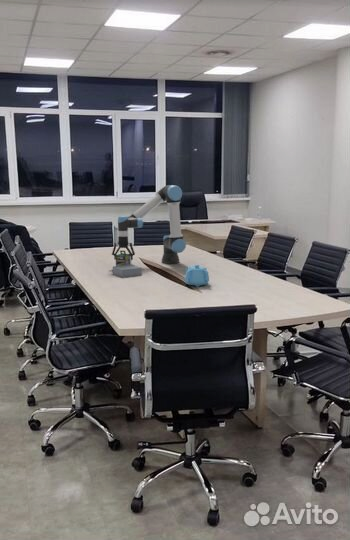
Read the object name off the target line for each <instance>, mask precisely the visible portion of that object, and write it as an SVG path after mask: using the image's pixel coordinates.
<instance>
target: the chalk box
mask: <svg viewBox="0 0 350 540" xmlns="http://www.w3.org/2000/svg"><path fill="white" fill-rule="evenodd" d="M119 252H120V253H117V254H116V260H115V266H121V265H130V256H131V255H130V254H129V253H126V250H123V249H121V250H119Z"/></svg>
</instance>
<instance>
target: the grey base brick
mask: <svg viewBox="0 0 350 540" xmlns="http://www.w3.org/2000/svg"><path fill="white" fill-rule="evenodd" d="M142 270H143V268H142V267H141V266H138V265H135V264H133V263H132V264H130V265H121V266H116V265H113V266H112V274H113V275H115V276H117V277H120V278H130V277H138V275H139V276H143V273H142Z"/></svg>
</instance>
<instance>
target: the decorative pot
mask: <svg viewBox="0 0 350 540" xmlns="http://www.w3.org/2000/svg"><path fill="white" fill-rule="evenodd" d="M184 281H185V283H186V285H187V284H188V286H195V287H197V288H198V287H200V286H206V285H207V284H208V283H209V282H210V275H209V270H207V267H205V266H200V264H194V266H188V267H186V268H185V276H184Z"/></svg>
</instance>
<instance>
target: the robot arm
mask: <svg viewBox="0 0 350 540" xmlns="http://www.w3.org/2000/svg"><path fill="white" fill-rule="evenodd" d="M182 196H183V190H182V189H181V187H180V186H178V185H176V184H175V185H173V184H171V185H170V184H167V185H165V186H163V187H162V188H161V189H159V190H158V191H157V192H155V195H154V196H153V197H152V198H150V199H148V201H147V202H145V203H144V204H143V205H142V206H140V207H138V209H137V210H136V211H134V212H133V213H131V215H130V216H127V215H119V216H117V217H118V218H117V238H118V241H117V242H114V245H113V249H112V253H111V255H112V256H114V260H115V261H116V255H118V254H119V252H120V249H126V250H127V252H128V254H130V255H131V256H130V264H132V265H133V263H132V261H133V257H134V256H135V255H136V253H135V249H134V246H133V243H132V242H129V229H139V228H143V226H144V221H143V218H144V217H145V216H147V215H148V214H149V213H150V212H152V211H153V210H154V209H156V208H157V207H158V206H159V205H160V204H161V203H162V204H163V203H164V202H166V204H167V205H168V217H169V231H170V234H169V235H164V236H163V254H162V258H161V264H166V265H168V264H170V265H173V264H179V263H180V258H179V255H178V254H180V253H182V252H184V251H185V250H186V248H187V247H186V246H187V243H186V242H185V240H184V235H183V233H182V228H181V227H182V226H181V212H180V211H181V210H180V203H181V202H182V200H181V198H182ZM128 245H129V246H128ZM117 246H118V248H117ZM129 247H130V248H129Z"/></svg>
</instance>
